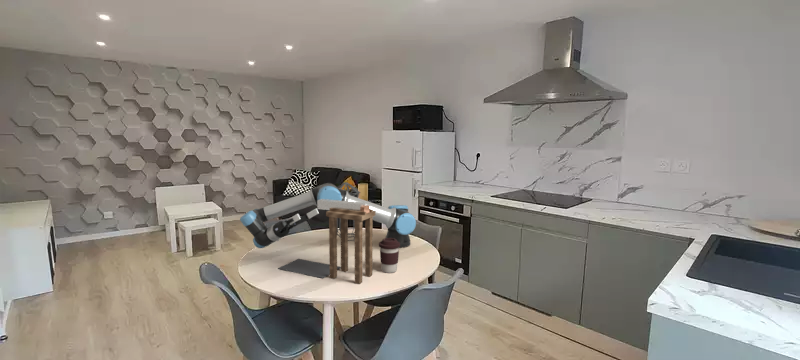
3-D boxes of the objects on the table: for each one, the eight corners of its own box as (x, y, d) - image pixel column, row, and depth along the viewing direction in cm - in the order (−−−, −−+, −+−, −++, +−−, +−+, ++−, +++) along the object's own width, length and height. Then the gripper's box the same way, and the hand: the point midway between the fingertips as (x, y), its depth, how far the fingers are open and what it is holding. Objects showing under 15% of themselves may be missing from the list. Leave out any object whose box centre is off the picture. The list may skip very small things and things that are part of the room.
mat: (277, 269, 177) (277, 268, 177) (298, 259, 191) (298, 258, 191) (323, 278, 167) (323, 277, 167) (341, 267, 180) (341, 266, 180)
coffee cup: (392, 276, 171) (392, 244, 169) (374, 271, 176) (374, 240, 174) (403, 269, 179) (404, 238, 177) (386, 265, 184) (386, 235, 182)
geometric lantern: (361, 242, 222) (360, 183, 217) (335, 244, 219) (333, 184, 214) (359, 234, 238) (357, 179, 232) (333, 236, 234) (331, 180, 229)
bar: (317, 208, 170) (317, 200, 169) (322, 207, 173) (322, 198, 173) (360, 213, 162) (360, 204, 161) (365, 211, 165) (365, 202, 165)
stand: (326, 277, 168) (326, 205, 163) (341, 269, 179) (341, 200, 174) (361, 285, 160) (361, 209, 156) (375, 275, 171) (375, 204, 167)
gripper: (298, 231, 195) (327, 215, 186) (262, 244, 173) (294, 226, 164) (292, 218, 196) (321, 201, 187) (256, 229, 173) (286, 211, 165)
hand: (308, 213), depth 175 cm, fingers open, 13 cm apart
